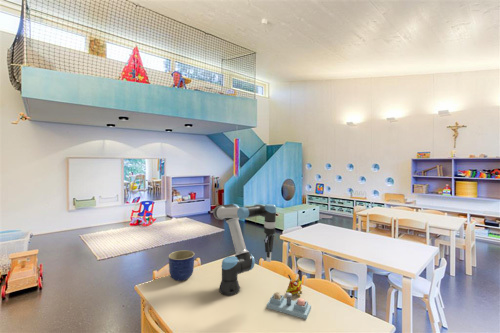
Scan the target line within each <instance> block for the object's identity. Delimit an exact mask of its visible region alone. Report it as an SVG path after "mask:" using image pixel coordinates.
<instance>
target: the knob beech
mask: <svg viewBox="0 0 500 333" xmlns="http://www.w3.org/2000/svg"><path fill="white" fill-rule="evenodd" d="M273 294H274V299H278V300H280V299H281V295H282V294H281V293H280V292H276V291H275V292H274V293H273Z"/></svg>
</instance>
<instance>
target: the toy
mask: <svg viewBox="0 0 500 333" xmlns="http://www.w3.org/2000/svg"><path fill="white" fill-rule="evenodd" d="M287 276H288V278H289V283H288V286H287V289H286V293H291V294H292V296H293V295H296V294H297V297H301V294H303V290H302V289H303V288H302V282H303V281H302V280H300V278H297V280H296V279H295V280H294V279H292V277H291V275H290V274H287ZM301 290H302V291H301ZM299 293H300V294H299Z"/></svg>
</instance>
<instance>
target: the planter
mask: <svg viewBox="0 0 500 333" xmlns="http://www.w3.org/2000/svg"><path fill="white" fill-rule="evenodd" d="M195 255H196V254H195V252H194V251H192V250H185V249H182V250H176V251H173V252H171V253H169V254H168V268H169V269H168V271H169V276H170V278H171V279H173V281H178V282H182V281H186V280H188V279H190V278H191V277H192V276H193V273H194V269H195Z"/></svg>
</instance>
